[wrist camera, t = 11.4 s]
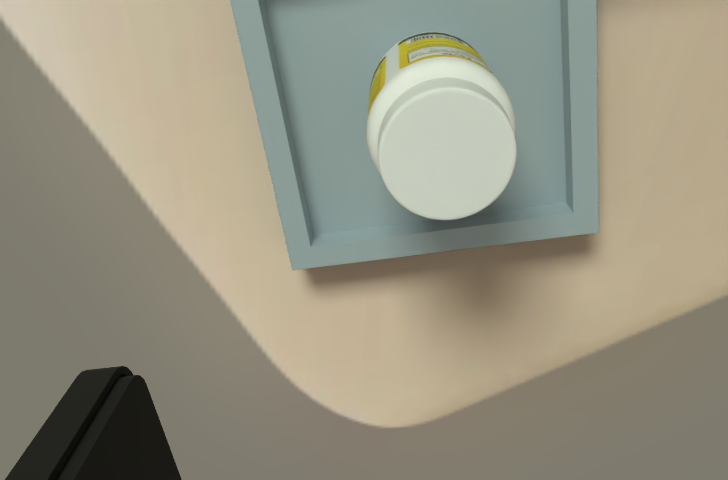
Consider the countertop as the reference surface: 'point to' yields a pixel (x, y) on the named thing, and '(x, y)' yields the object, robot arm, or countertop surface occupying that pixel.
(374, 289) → the countertop surface
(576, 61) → the tray
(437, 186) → the supplement bottle
